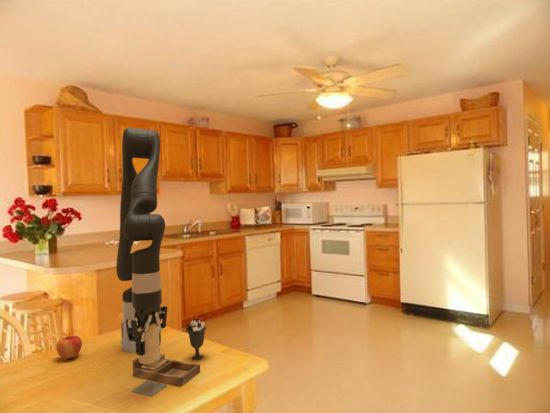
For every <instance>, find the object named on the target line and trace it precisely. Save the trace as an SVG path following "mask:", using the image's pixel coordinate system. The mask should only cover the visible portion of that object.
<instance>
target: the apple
mask: <svg viewBox="0 0 550 413" xmlns="http://www.w3.org/2000/svg"><path fill="white" fill-rule="evenodd" d="M68 333H69V335H68V336H65V337H61V338H60V339H59V340H57V342H56V346H55V348H56V352H57V354H58V356H59V357H60V358H61V359H63V360H65V361H66V360H68V359H71V358H72V359H73V358H74V359H75V358H76V357H77V356H78V355H79V353H80V352H81V349H82V346H83V344H82V343H83V342H82V339H81V337H79V336H78V335H71V332H68Z"/></svg>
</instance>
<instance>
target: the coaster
mask: <svg viewBox="0 0 550 413" xmlns="http://www.w3.org/2000/svg"><path fill="white" fill-rule="evenodd" d="M167 386H168V384H167V383H162V382H157V381H153V380H146V381H144V382H142V383H141V384H140V385H138V386H137V387H135V388H134V389H132V390H131V391H130V392H131V393H136V394H138V395H139V394H140V395H144V396H148V397H154V396H156V395H157V394H158V393H159V392H161V391H163V389H165V388H166V387H167Z"/></svg>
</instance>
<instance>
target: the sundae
mask: <svg viewBox="0 0 550 413" xmlns="http://www.w3.org/2000/svg"><path fill="white" fill-rule="evenodd" d="M202 313H203V311H202V310H200V311H199V313H198V315H197V316H195V317H194V318H193V319H192V320H191V321H190V323H187V324H186V326H187V327H186V328H185V330H186V333H188V337H189V342H190V347H192V348H193V349H195V353H194V355H193V356H192V357H191V358H190V360H192V361H201V360H203V359H204V355H201V354H200V348H201V347H202V346H203V345H204V342H205V333H206V329H207V328H208V326H206V324H205V322H204V321H203V318H202V316H201V315H202ZM199 316H200V318H199Z"/></svg>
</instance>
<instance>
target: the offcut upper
mask: <svg viewBox="0 0 550 413" xmlns="http://www.w3.org/2000/svg"><path fill="white" fill-rule="evenodd" d="M165 359H166V354H164V353H160V359H159V360H158V361H157V362H155V363H151V364H144V367H153V368H156V367H157V366H158V365H159V364H160V363H162V362H163V361H164V360H165Z"/></svg>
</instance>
